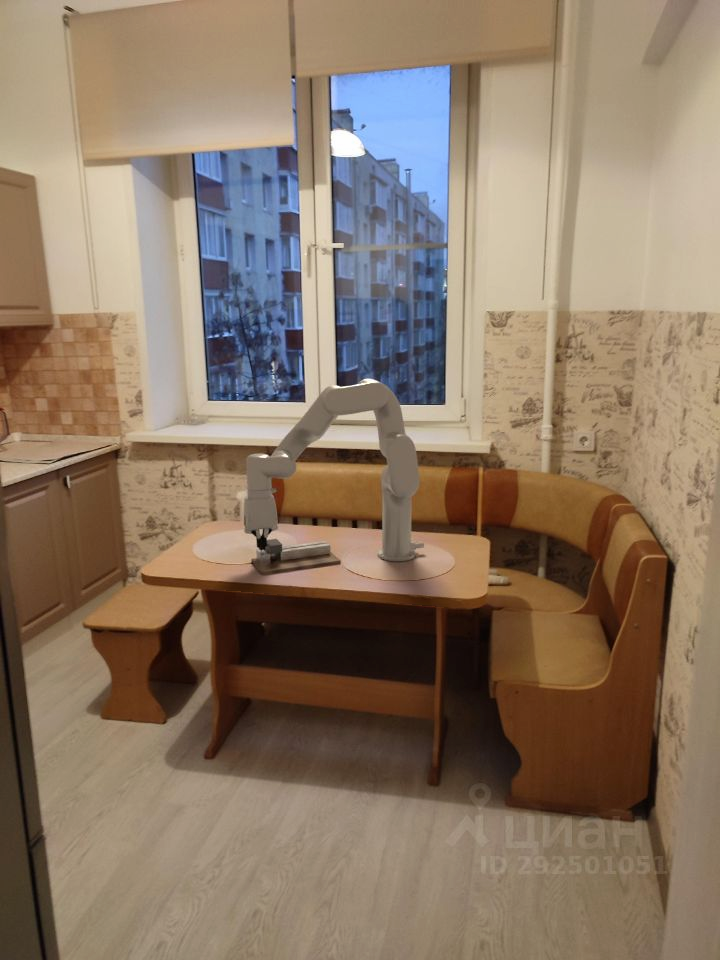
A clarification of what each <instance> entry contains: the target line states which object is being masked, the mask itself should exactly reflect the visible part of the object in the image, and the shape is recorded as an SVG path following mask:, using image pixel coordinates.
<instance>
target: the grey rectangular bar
mask: <svg viewBox="0 0 720 960" xmlns="http://www.w3.org/2000/svg"><path fill="white" fill-rule="evenodd" d="M330 552H331V544H330V543H328V542H327V544H320V545H312V546H305V547H298V548H290V549H283V550H282V552H279V559H280V560H281V561H283V560H290V559H297V558H304V557H311V556H318V555H325V554H331V553H332V552H331V553H330ZM269 553H270V552H269ZM270 560H271V561H273V560H276V553H270Z"/></svg>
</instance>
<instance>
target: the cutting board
mask: <svg viewBox="0 0 720 960" xmlns="http://www.w3.org/2000/svg"><path fill="white" fill-rule="evenodd" d="M330 553H331V554H325V555H318V556H311V557H304V558H297V559H290V560H283V561H281V560H280V559H278V558H276V560H273V561H271V560H270V564H266V565H261V564H260V563H259V561H258V560H257V557H254V558H251V563H252V564H253V566H254V567H255V568H256V570H257V571H258V572H259V573H260V575H261V576H266V575H271V574H277V573H286V572H291V571H300V570H307V569H312V568H318V567H325V566H326V567H327V566H332V565H338V564H339V565H340V564H341V563H342V561H341V559H340V558H339V557H337V556H336V555H335V554H334V553H332V552H331V551H330Z"/></svg>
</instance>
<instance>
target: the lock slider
mask: <svg viewBox="0 0 720 960" xmlns="http://www.w3.org/2000/svg"><path fill="white" fill-rule="evenodd" d="M282 547H283V544H282V543H281V541H280V540H279V539H277V538H272V539H267V546H266V549H267V550H268V551H269V552H270V553H276V552H282Z"/></svg>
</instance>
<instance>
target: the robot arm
mask: <svg viewBox="0 0 720 960" xmlns="http://www.w3.org/2000/svg"><path fill="white" fill-rule="evenodd" d="M370 411H373V414H374V417H375V421H376V427H377V428H376V429H377V434H378V435H377V436H378V445H379V446H378V447H379V451H380V453H381V454H382V456H383V457H385V458H386V463H387V464H386V465H385V466H384V467H383V469H382V470H381V471H382V472H381V475H380V483H381V496H382V511H381V512H382V517H381V518H382V520H381V523H382V524H381V526H382V532H381V533H382V534H381V535H382V537H381V539H382V541H381V542H382V543H381V545H382V547H381V548H380V549H378V550H377V557H378V559H379V558H380V559H382V560H383V559H384V561H387V560H388V562H407V561H410V560H411V561H412V560H413V559H414V558H415V557H416V551H415V550H416V549H424V548H425V543H424V542H423V541H420V542H418V541H417V540H416V541H412V511H413V510H412V506H413V504H412V497H413V496H414V495H415V494H416V492H417V491H418V490H419V488H420V474H419V473H420V472H419V464H418V463H419V462H418V454H417V449H416V446H415V443H414V441H413V439H412V438H411V437H410V436H409V435H407V433H406V430H405V429H406V428H405V424H404V423H405V422H404V417H403V413H402V408H401V404H400V402H399V400H398V398H397V396H396V395H395V393H394V392H393V391H392V390H391V388H389V387H388V385H386V384H384V383H383V382H381V381H378V380H376V379H373V378H364V379H362V380H360V381H358V383H357V384H354V385H346V386H340V385H333V384H331V385H329V386H327V387H325V388H324V389H323V390H322V391H321V392H320V393H319V395H318V396H317V398H315V401H314V402H313V403H312V404H311V406H309V409H307V410H306V412H305V413H304V414H303V416H302V417H301V418H300V420H299V421H298V422H297V423H296V424H295V425H294V427H293V428H292V429H291V430H290V431H289V432H288V433H287V434H286V435H285V437H284V438H283V439H282V440H281V442H280V443H278V445H277V447H276V448H275V449H274V450H273V452H272V453H271V455H268V454H266V453H253V454H250V455H248V456H247V457H246V460H245V461H246V462H245V463H246V467H245V468H246V486H247V487H246V488H247V489H246V490H247V496H246V497H245V498H244V503H243V525H244V531H243V532H244V534H250V535H253V536H254V537H255V538H256V548H257V549H260V551H262V550H266V546H267V540H268V537H269V535H270V534H271V533H272V532H274V531H275V532H276V531H277V530H278V529H279V527H278V512H277V511H278V509H277V503H276V500H275V497H274V495H273V494H274V493H276V492H277V488H276V487H272V486H273V485H272V479H273V478H274V479H275V478H276V479H285V480H286V479H290V478H291V477H293V476H294V475H295V474H296V470H297V461H296V460H297V459H298V458H299V456H300V455H301V454H302V453H303V452H304V451H305V450H306V449H307V448H308V446H310V445H311V444H312V443H315V442H317V441H318V440H320V439H322V437H324V435H325V434H326V432H327V431H328V430H329V428H330V427H331V425H332V424H333V423H334V422H335V420H336V419H337V418H338V417H339V416H348V415H355V414H359V413H365V412H370ZM261 530H262V533H261V532H260V531H261Z"/></svg>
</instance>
